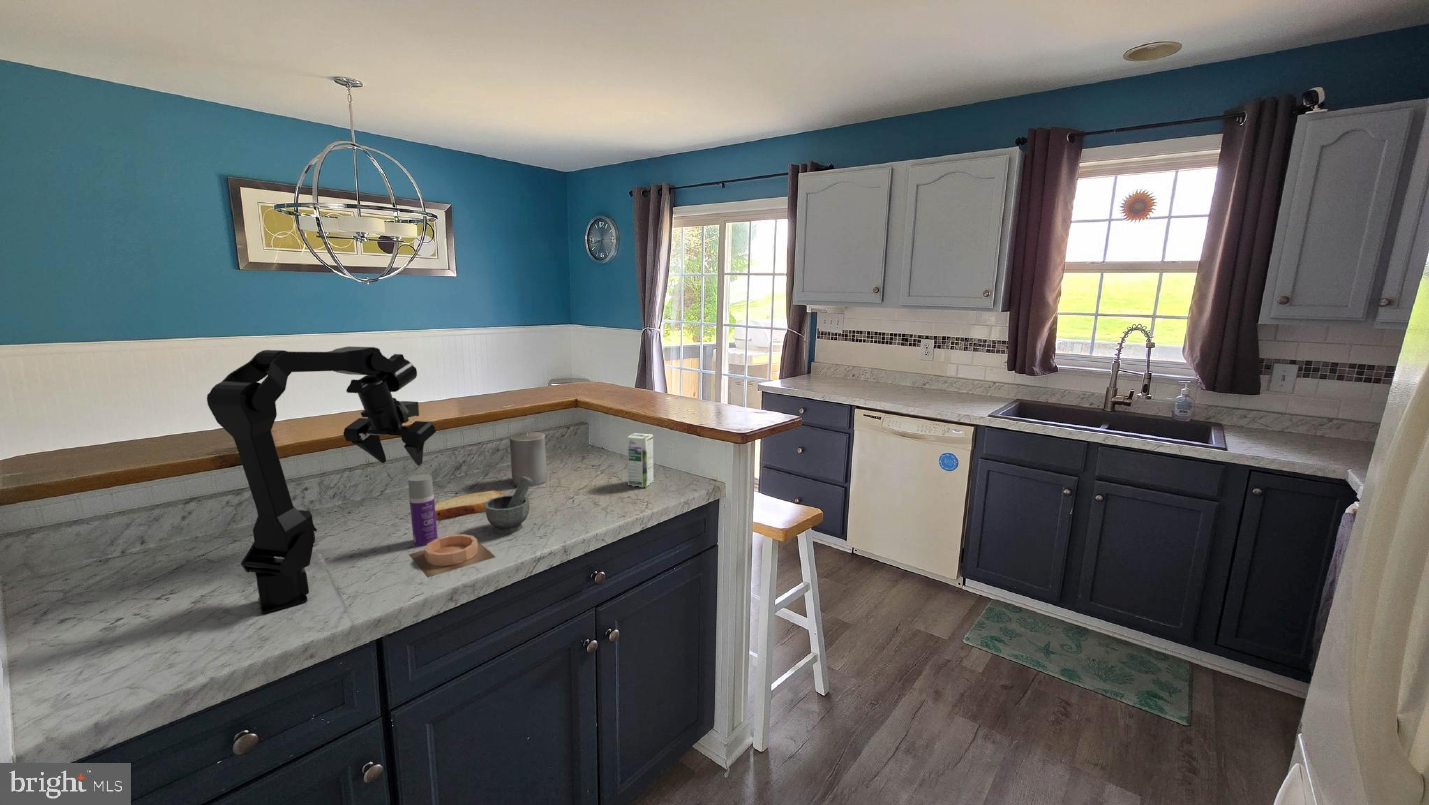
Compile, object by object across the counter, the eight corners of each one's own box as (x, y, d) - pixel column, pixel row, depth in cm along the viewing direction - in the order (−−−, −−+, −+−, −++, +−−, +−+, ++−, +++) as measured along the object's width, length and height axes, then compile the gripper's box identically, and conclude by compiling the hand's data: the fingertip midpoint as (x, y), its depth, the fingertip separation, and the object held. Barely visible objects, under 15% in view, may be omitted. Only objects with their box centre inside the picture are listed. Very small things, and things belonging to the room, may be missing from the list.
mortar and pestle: (496, 543, 125) (492, 490, 123) (479, 530, 132) (475, 480, 130) (543, 529, 133) (541, 479, 131) (525, 517, 139) (522, 470, 137)
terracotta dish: (434, 571, 111) (433, 559, 111) (420, 554, 118) (419, 543, 118) (484, 556, 118) (483, 545, 117) (467, 541, 125) (467, 530, 124)
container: (428, 549, 122) (421, 481, 119) (409, 547, 123) (402, 480, 120) (442, 540, 127) (436, 475, 124) (424, 538, 128) (417, 473, 125)
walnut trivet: (428, 579, 109) (427, 577, 109) (409, 556, 119) (409, 554, 118) (495, 559, 118) (495, 556, 117) (473, 539, 127) (473, 537, 127)
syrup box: (627, 486, 162) (626, 436, 160) (636, 480, 168) (635, 431, 165) (646, 488, 161) (645, 438, 158) (654, 481, 166) (653, 433, 164)
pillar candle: (512, 477, 169) (509, 428, 166) (547, 474, 172) (544, 426, 169) (511, 488, 160) (508, 437, 157) (548, 485, 163) (545, 434, 160)
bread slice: (412, 521, 138) (411, 506, 137) (461, 496, 155) (460, 482, 154) (478, 529, 134) (476, 513, 133) (521, 502, 151) (520, 488, 150)
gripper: (440, 386, 126) (459, 446, 133) (367, 383, 129) (390, 441, 137) (407, 411, 116) (430, 474, 124) (329, 407, 120) (356, 468, 127)
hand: (402, 463), depth 128 cm, fingers open, 9 cm apart
